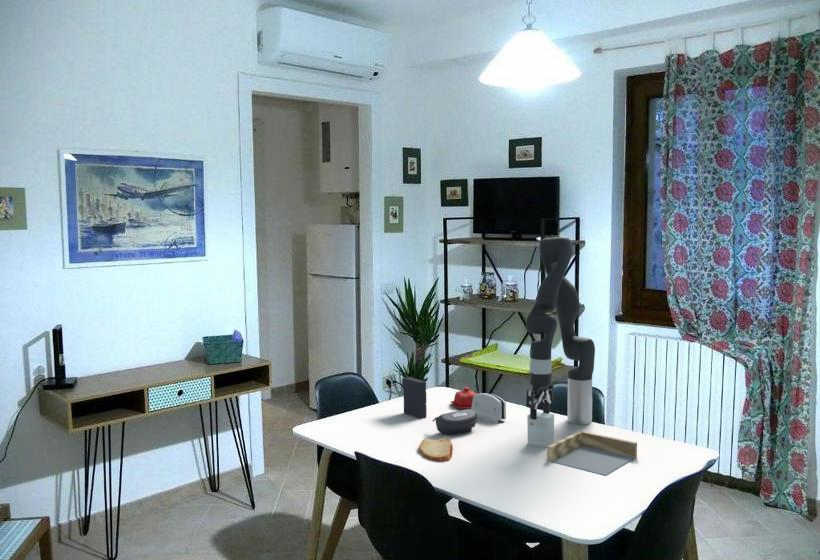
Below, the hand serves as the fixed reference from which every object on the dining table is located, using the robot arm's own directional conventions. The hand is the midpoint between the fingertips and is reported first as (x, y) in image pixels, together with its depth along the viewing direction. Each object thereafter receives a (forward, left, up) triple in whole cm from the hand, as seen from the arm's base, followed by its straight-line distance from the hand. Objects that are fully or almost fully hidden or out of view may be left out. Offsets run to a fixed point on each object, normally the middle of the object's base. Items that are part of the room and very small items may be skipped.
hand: (539, 416), depth 241 cm
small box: (0, 0, -10) cm, 10 cm away
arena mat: (+4, +22, -10) cm, 25 cm away
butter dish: (-24, -50, -10) cm, 56 cm away
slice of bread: (+30, -21, -10) cm, 38 cm away
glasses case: (+8, -31, -10) cm, 33 cm away
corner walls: (+4, +22, -10) cm, 25 cm away
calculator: (+2, -57, -10) cm, 58 cm away
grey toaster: (-14, -33, -10) cm, 37 cm away
